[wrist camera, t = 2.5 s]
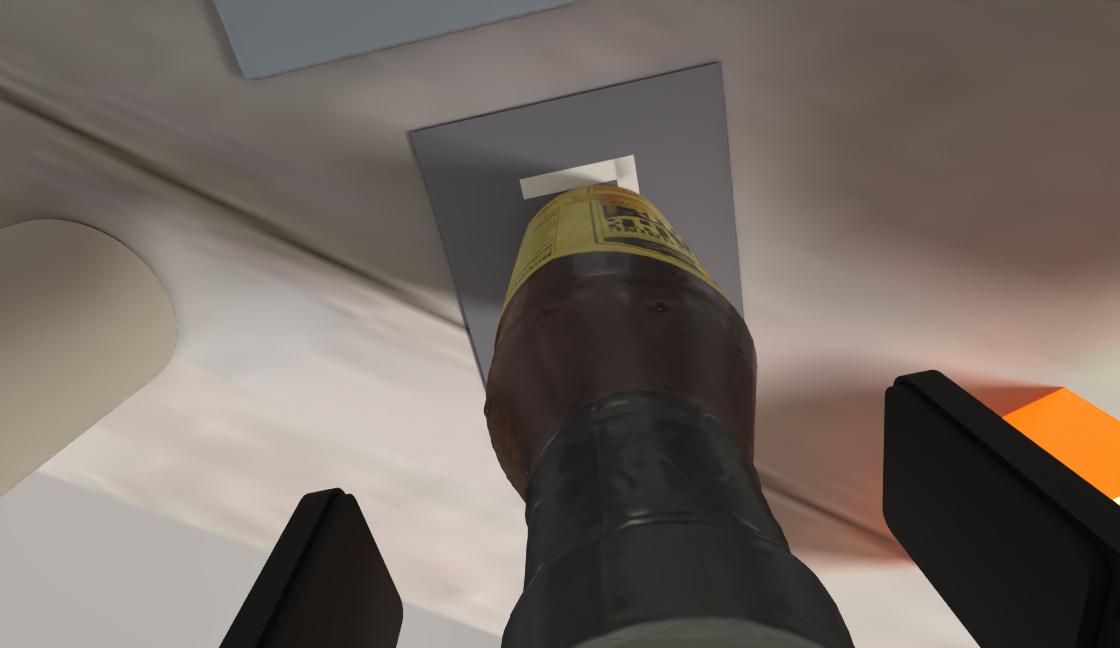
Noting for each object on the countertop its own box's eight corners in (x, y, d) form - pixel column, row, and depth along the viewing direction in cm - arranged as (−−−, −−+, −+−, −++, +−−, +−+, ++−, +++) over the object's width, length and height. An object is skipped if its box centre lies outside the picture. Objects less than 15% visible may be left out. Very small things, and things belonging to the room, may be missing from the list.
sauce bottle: (696, 265, 24) (1122, 829, 6) (577, 345, 26) (643, 993, 8) (608, 136, 22) (871, 426, 4) (484, 231, 24) (269, 760, 6)
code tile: (719, 62, 22) (721, 62, 21) (745, 344, 26) (746, 346, 26) (411, 132, 22) (409, 133, 22) (490, 394, 27) (489, 396, 27)
